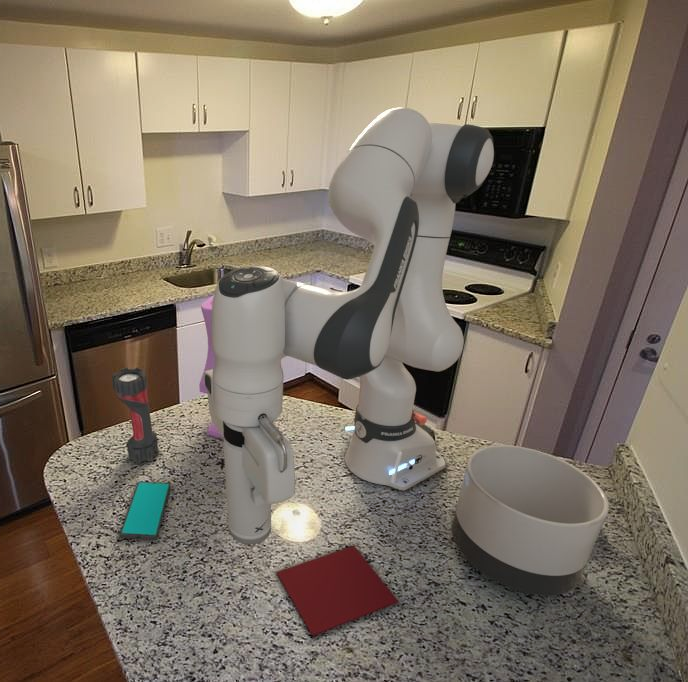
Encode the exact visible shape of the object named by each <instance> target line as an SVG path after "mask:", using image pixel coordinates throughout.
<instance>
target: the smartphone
mask: <svg viewBox="0 0 688 682" xmlns="http://www.w3.org/2000/svg"><path fill="white" fill-rule="evenodd" d="M170 490H171V483H170V482H158V481H157V482H156V481H155V482H154V481H138V482H137V484H136V486H135V489H134V492H133V495H132V498H131V501H130V503H129V507H128V510H127V512H126V515H125V518H124V521H123V524H122V526H121V528H120V532H119V535H120V536H119V537H120V538H122V539H134V540H150V541H151V540H152V541H157V540H158V537H159V534H160V530H161V525H162V521H163V518H164V514H165V510H166V508H167V503H168V499H169V495H170Z"/></svg>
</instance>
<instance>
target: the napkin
mask: <svg viewBox="0 0 688 682" xmlns="http://www.w3.org/2000/svg"><path fill="white" fill-rule="evenodd" d="M276 575H277V577H278V579H279V581H280V582H281V584H282V585H283V587H284V590H285V591H286V593H287V595H288V596H289V598H290V600H291V601H292V603H293V605H294V606H295V609H296V610H297V611H298V612H297V613H298V614H299V615H300V617H301V619H302V621H303V622H304V624H305V626H306V628H307V629H308V632H309V633H310V634H311V636H312V637H315V636H318V635H320V634H322V633H326V632H327V631H330V630H333V629H335V628H338V627H340V626H342V625H345V624H347V623H350V622H353V621H356V620H358V619H360V618H363V617H366V616H367V615H370V614H373V613H376V612H377V611H380V610H382V609H383V610H384V609H385V608H389V607H391V606H394V605H395V604H398V603H399V600H398V599H397V597H396V596H395V595H394V594H393V592H392V591H391V590H390V589H389V587H388V586H387V585H386V583H385V582H384V581H383V580H382V579H381V578H380V576H379V575H378V573H377V572H376V571H375V570H374V568H372V566H371V564H370V563H368V561H367V560H366V559H365V557H364V556H363V555H362V554H361V552H360V551H359V550H358V549H357V548H356V546H355V545H352V546H349V547H346V548H343V549H340V550H337V551H334V552H331V553H327V554H325V555H323V556H322V555H321V556H320V557H315V558H314V559H311V560H308V561H305V562H302V563H298V564H296V565H293V566H291V567H287V568H284V569H282V570H279V571H276Z"/></svg>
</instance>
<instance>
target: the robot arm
mask: <svg viewBox="0 0 688 682" xmlns="http://www.w3.org/2000/svg"><path fill="white" fill-rule="evenodd" d="M494 156H495V150H494V138H493V136H492V134H491V133H490V130H489V129H487V128H485V127H483V126H479V125H474V124H469V123H466V124H464V125H458V124H450V123H437V122H429V121H428V119H427V118H426V117H425V116H424V115H423V114H422V113H421V112H419V111H417V110H415V109H412V108H409V107H395V108H391V109H388V110H386V111H384V112H382V113H381V114H379V115H378V116H377V117H376V118H374V120H373V121H371V123H370V124H368V125H367V127H365V129H364V130H363V131H362V132H361V134H359V135H358V137H357V138H356V139H355V141H354V142H353V143H352V145H351V146H350V147H349V149H348V151H346V153H345V155H344V156H343V158H342V159H341V161H340V162H339V164H338V165H337V167H336V168H335V170H334V173H333V174H332V177H331V179H330V182H329V185H328V203H329V205H330V209H331V211H332V213H333V214H334V216H335V218H336V219H337V220H338V221H339V223H340V224H341V225H342V226H343V227H344V228H345V229H346V230H348V231H349V232H351V233H352V234H354V235H356V236H358V237H360V238H362V239H364V240H366V241H367V242H369V243H371V244H372V245H373V246H374V247H373V250H372V253H371V256H370V258H369V262H368V264H367V267H366V271H365V274H364V276H363V279H362V282H361V285H360V286H359V287H357V288H356V289H352V290H348V291H340V290H335V289H330V288H326V287H321V286H316V285H312V284H309V283H305V282H302V281H301V282H300V281H296V280H291V279H286V278H283V277H282V276H281V274H280V273H279V272H278V271H277V270H276V269H274V268H272V267H270V266H262V265H250V266H243V267H238V268H235V269H232V270H230V271H229V272H226V273H225V274H224V275H222V276H221V277H220V278H219V280H218V281H217V283H216V285H215V290H214V293H213V295H214V297H213V304H212V315H211V344H212V350H213V352H214V355H215V366H214V369H211V370H208V371H204V370H203V372H204V384H205V386H206V387H207V393H206V394H207V404H208V411H209V415H210V418H211V422H212V423H214V424H215V426H216V427H217V429H218V431H219V432H220V434H221V435H222V437H223V433H224V429H223V421H224V423H225V424H226V425H227V426H228V427H229V428H231V429H233V430H236V431H238V432H242V434H243V436H244V437H245V441H244V444H245V445H242V467H243V469H244V471H245V472H246V474H247V475H248V477H249V478H250V480H251V482H252V483H253V485H254V486H255V488H251V495H250V497H251V498H252V500H253V502H254V503H255V505H257V506H258V505H261V504H264V503H266V504H271V505H275V504H279V503H283V502H285V501H288V500H290V499H291V498H293V497H294V496H295V493H296V467H295V457H294V452H293V451H294V450H293V448H292V445H291V443H290V442H289V440H288V438H287V437H286V436H285V435H284V434H283V432H282V431H281V430H280V429H279V428H278V427H277V425H275V423H273V422H274V421H276V420H277V419H278V418H279V417H280V416H281V414H282V412H283V401H284V376H285V375H284V371H283V365H282V359H284V358H285V357H290V358H293V359H296V360H299V361H301V362H305V363H307V364H310V365H313V366H316V367H318V368H319V369H321V370H324V371H325V372H327V373H330V374H331V375H335V376H336V377H338V378H341V379H343V380H352V379H356V378H359V395H358V403H357V405H356V407H355V412H354V420H353V424H354V425H351V426H345V429H344V430H345V431H353V432H352V435H351V438H350V440H349V442H348V444H349V445H348V447H347V449H346V452H345V455H344V464H345V465H346V467H347V468H348V470H349V471H350V472H351V473H352V474H353V475H354V476H356V477H358V478H360V479H361V480H363V481H366V482H369V483H373V484H376V485H383V486H388V487H391V488H393V489H396V490H398V491H406V490H409V489H411V488H412V487H414V486H416V485H418V484H419V483H421V482H423V481H424V480H427V479H428V478H430V477H432V476H434V475H435V474H438V473H439V472H440V471H442V470H444V469H446V462H445V459H444V457H443V456H442V455H441V454H440V452H439V451H437V444H436V442H435V441H436V434H435V430H433V429H432V428H430V427H428V426H427V425H425V424H426V423H427V421H428V418H427V416H424V415H423V414H421V413H416V412H415V411H414V410H413V409H414V404H415V399H416V392H417V385H416V381H415V378H414V377H413V376H412V374H411V373H410V372H409V371H408V369H407V368H406V367H405V365H404V364H406V365H407V366H410V367H412V368H416V369H420V370H425V371H432V372H438V373H439V372H443V371H445V370H447V369H448V368H450V367H451V366H453V365H454V364H455V363H456V362H457V361H458V360H459V358H460V357H461V355H462V352H463V349H464V345H465V343H464V341H465V340H464V339H465V338H464V334H463V330H462V328H461V327H460V325H459V324H458V323H457V322H456V321H455V319H454V318H453V316H452V315H451V313H450V311H449V308H448V306H447V304H446V299H445V297H444V291H443V273H444V267H445V262H446V258H447V252H448V249H449V248H448V247H449V243H450V239H451V235H452V231H453V226H454V222H455V215H456V214H455V212H456V204H457V203H459V202H460V201H461V200H462V199H463V198H465V197H468V196H470V195H471V194H473V193H475V192H476V191H477V190H478V189H479V188H481V187H482V185H483V183H484V182H485V180H486V178H487V177H488V175H489V173H490V172H491V168H492V167H493V163H494V158H495V157H494Z"/></svg>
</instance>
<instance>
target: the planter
mask: <svg viewBox="0 0 688 682" xmlns="http://www.w3.org/2000/svg"><path fill="white" fill-rule="evenodd" d="M609 509H610V503H609V500H608V497H607V495H606V494H605V492H604V491H603V489H602V488H601V486H600V485H599V484H598V483H597V482H596V481H595V480H594V479H593V478H592V477H591V476H589V474H587V473H585V472H584V471H582V469H580V468H578V467H576V466H574V465H573V464H571V463H569V462H567V461H566V460H563V459H561V458H560V457H557V456H554V455H552V454H549V453H546V452H543V451H540V450H538V449H533V448H529V447H524V446H518V445H509V444H497V445H489V446H484V447H481V448H478V449H477V450H475V451H474V452H472V453H471V455H470V456H469V457H468V458H467V461H466V466H465V469H464V474H463V478H462V481H461V486H460V490H459V494H458V498H457V503H456V507H455V510H454V515H453V518H452V522H451V535H452V540H453V541H454V543H455V545H456V547H457V549H458V551H459V552H460V553H461V554H462V555H463V557H464V558H465V559H466V560H467V562H469V563H470V565H472V566H473V567H474V568H475V569H477V570H478V571H479V572H480V573H482V574H483V575H485V576H486V577H488V578H490V579H491V580H493V581H495V582H497V583H499V584H501V585H503V586H505V587H507V588H510V589H512V590H515V591H518V592H521V593H525V594H529V595H535V596H542V597H544V596H545V597H546V596H547V597H549V596H550V597H551V596H552V597H553V596H558V595H559V596H560V595H563V594H567V593H568V592H570V591H572V590H573V589H575V587H577V586H578V584H579V583H580V580H581V578H582V575H583V573H584V570H585V568H586V566H587V564H588V561H589V559H590V556H591V554H592V552H593V549H594V547H595V545H596V543H597V539H598V537H599V535H600V533H601V530H602V528H603V525H604V523H605V521H606V518H607V516H608V513H609V511H610V510H609Z"/></svg>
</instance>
